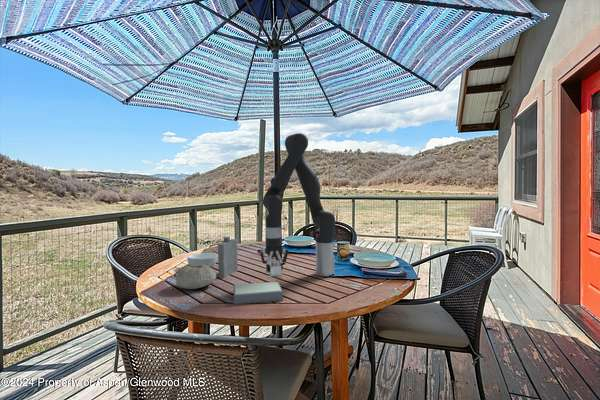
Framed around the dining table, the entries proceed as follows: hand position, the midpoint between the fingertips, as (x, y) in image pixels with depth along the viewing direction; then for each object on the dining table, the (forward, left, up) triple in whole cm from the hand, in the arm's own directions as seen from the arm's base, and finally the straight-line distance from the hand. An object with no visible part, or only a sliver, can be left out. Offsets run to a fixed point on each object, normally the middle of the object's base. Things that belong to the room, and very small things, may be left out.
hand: (274, 271), depth 159 cm
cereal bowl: (+36, -39, -6) cm, 54 cm away
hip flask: (+22, -22, -6) cm, 32 cm away
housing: (0, 0, -1) cm, 1 cm away
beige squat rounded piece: (+36, -4, -6) cm, 37 cm away
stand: (+9, +16, -6) cm, 20 cm away
